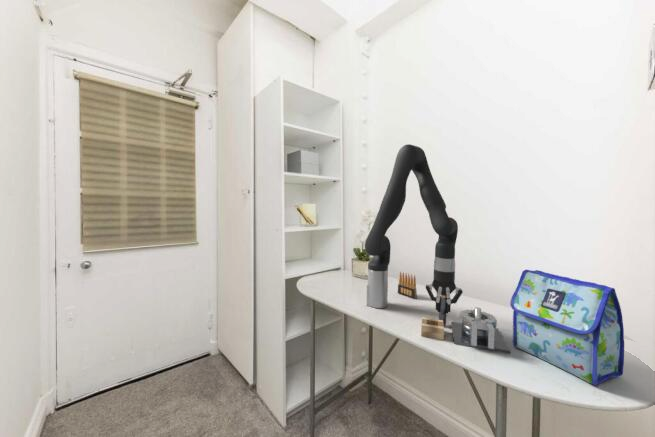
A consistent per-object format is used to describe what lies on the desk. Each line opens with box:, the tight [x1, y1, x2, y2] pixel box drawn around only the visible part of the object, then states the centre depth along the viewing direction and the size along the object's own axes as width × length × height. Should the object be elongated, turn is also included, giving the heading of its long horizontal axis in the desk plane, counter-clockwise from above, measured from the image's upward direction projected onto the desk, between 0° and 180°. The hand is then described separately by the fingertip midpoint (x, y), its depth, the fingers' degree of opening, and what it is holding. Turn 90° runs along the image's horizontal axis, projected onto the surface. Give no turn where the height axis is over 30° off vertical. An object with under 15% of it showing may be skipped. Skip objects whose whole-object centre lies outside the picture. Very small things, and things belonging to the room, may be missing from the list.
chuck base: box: [450, 307, 511, 354], centre depth 92 cm, size 16×16×10 cm
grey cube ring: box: [459, 308, 498, 349], centre depth 90 cm, size 11×15×7 cm
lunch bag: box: [509, 269, 625, 387], centre depth 77 cm, size 22×17×26 cm
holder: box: [420, 316, 445, 341], centre depth 95 cm, size 7×7×4 cm
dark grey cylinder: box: [438, 294, 447, 326], centre depth 101 cm, size 3×3×12 cm
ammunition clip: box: [397, 271, 418, 300], centre depth 134 cm, size 11×2×12 cm, turn 35°
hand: (442, 311), depth 101 cm, fingers closed on dark grey cylinder, 2 cm apart
